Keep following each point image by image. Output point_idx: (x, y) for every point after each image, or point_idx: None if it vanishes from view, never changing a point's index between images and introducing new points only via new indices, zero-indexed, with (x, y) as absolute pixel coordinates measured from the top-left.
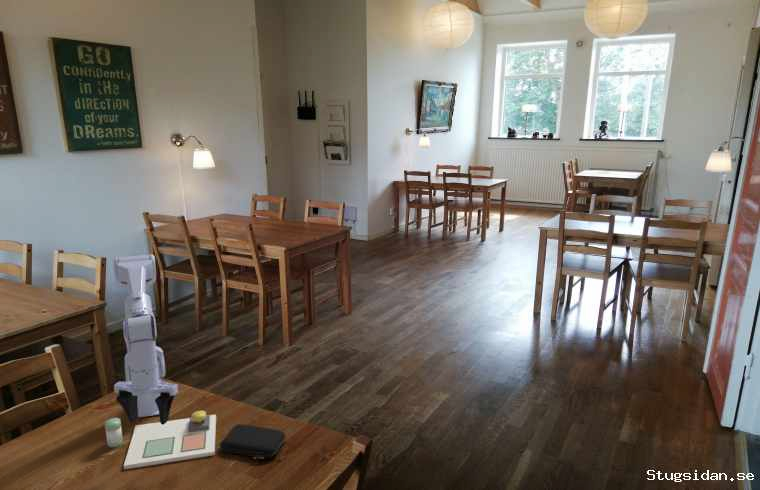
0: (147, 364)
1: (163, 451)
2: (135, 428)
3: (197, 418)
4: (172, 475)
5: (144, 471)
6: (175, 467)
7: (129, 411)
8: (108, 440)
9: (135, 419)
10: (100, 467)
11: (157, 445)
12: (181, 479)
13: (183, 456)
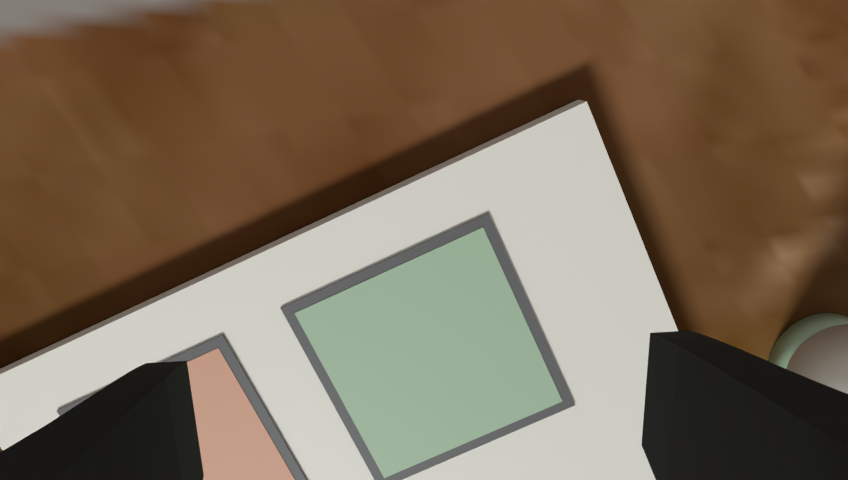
0: None
1: (364, 315)
2: None
3: None
4: (158, 104)
5: (405, 107)
6: (192, 194)
7: (777, 416)
8: None
9: (651, 403)
10: (776, 87)
11: (455, 372)
12: (58, 74)
13: (170, 293)
